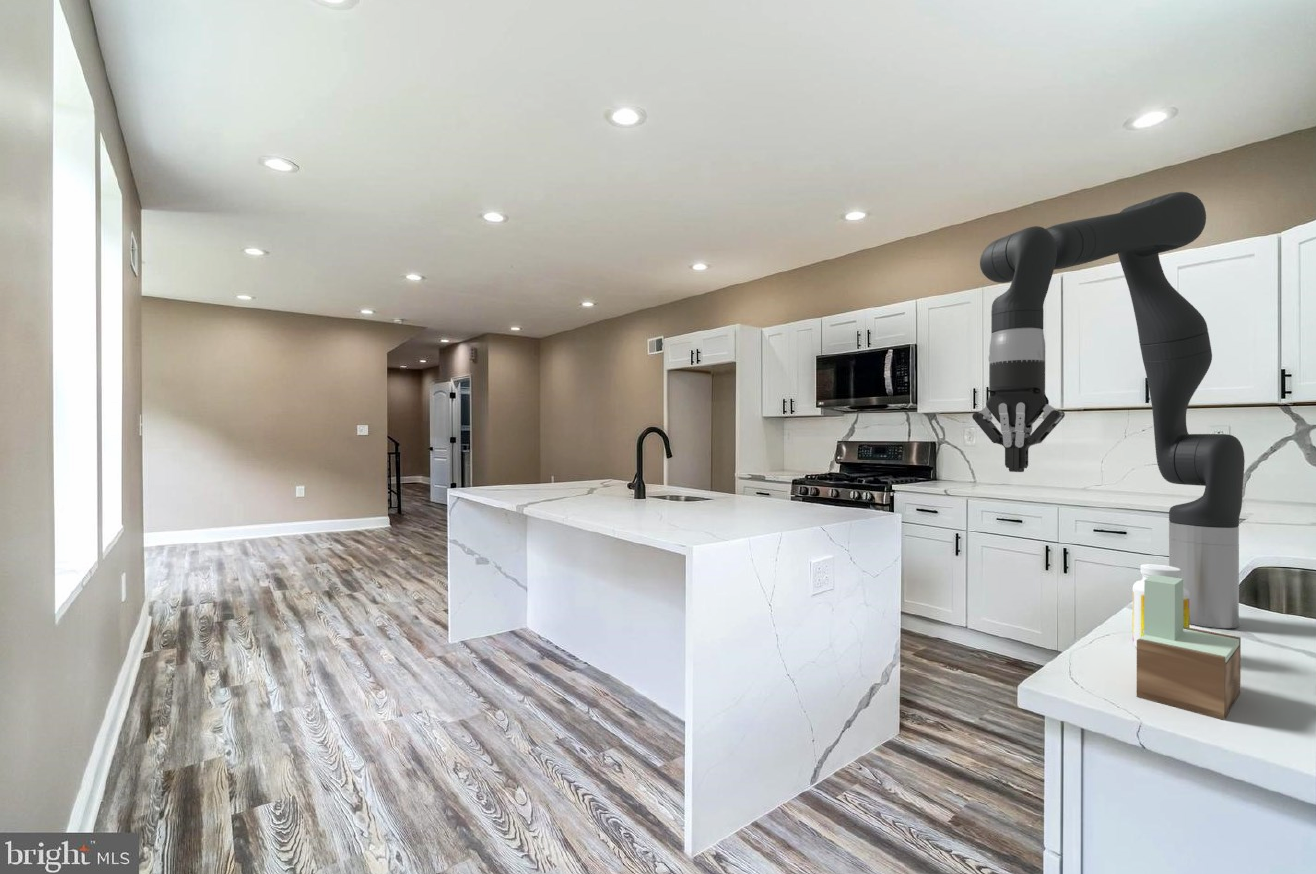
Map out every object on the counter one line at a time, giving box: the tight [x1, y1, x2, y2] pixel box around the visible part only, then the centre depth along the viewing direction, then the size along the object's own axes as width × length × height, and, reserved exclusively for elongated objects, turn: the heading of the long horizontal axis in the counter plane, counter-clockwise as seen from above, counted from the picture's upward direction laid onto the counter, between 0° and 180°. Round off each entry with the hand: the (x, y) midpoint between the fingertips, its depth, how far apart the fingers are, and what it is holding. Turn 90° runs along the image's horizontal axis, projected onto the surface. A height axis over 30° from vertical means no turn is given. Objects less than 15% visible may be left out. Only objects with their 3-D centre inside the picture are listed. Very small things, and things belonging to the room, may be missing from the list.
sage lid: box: [1140, 575, 1239, 662], centre depth 76 cm, size 10×8×8 cm
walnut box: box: [1136, 627, 1242, 721], centre depth 76 cm, size 12×8×7 cm, turn 129°
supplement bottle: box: [1132, 563, 1191, 649], centre depth 91 cm, size 7×7×13 cm
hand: (1016, 471), depth 94 cm, fingers closed
